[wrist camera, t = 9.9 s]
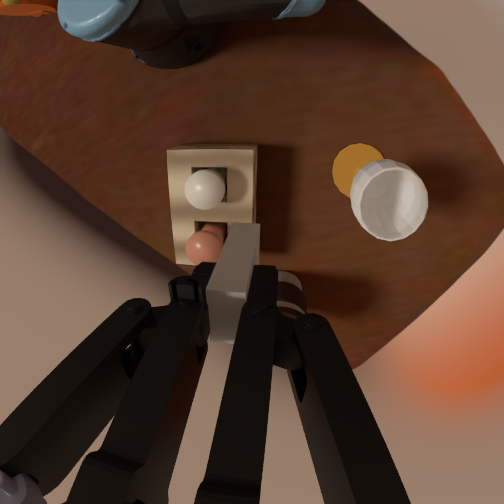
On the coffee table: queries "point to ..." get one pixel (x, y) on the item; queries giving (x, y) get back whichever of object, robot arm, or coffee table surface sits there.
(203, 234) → the terracotta plug
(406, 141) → the coffee table surface
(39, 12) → the alarm clock
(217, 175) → the ivory plug
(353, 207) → the cup
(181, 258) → the beech block
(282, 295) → the coffee cup
